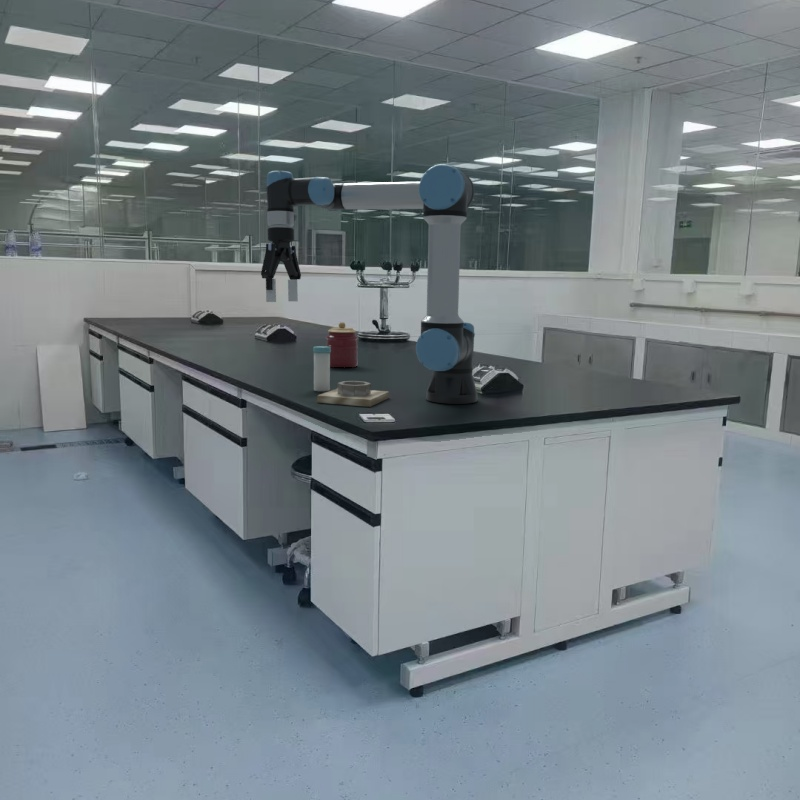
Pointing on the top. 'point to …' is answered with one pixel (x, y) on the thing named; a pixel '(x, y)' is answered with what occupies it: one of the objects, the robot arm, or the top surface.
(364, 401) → the collar base
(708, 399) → the top surface
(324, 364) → the canister
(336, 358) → the canister
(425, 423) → the top surface
